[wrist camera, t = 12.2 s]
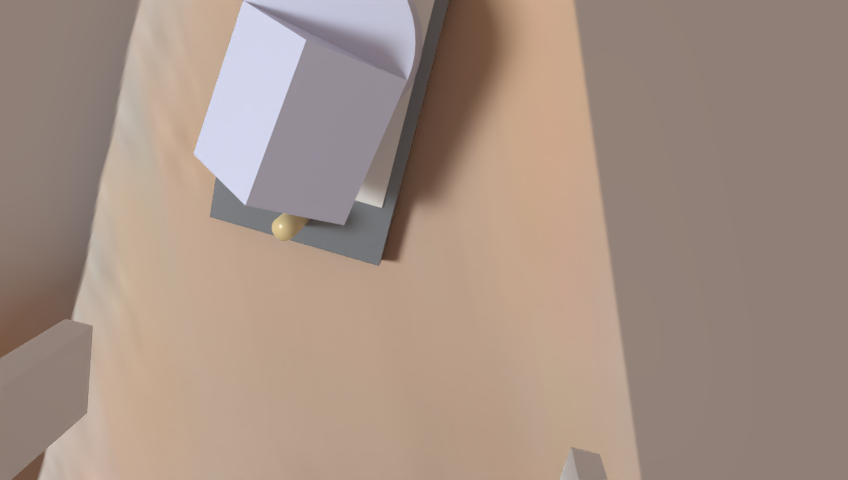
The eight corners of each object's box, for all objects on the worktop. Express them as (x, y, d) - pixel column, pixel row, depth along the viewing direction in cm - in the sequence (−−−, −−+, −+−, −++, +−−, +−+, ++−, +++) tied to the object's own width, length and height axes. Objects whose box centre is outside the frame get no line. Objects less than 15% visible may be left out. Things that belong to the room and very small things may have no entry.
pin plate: (381, 260, 38) (369, 284, 34) (217, 212, 38) (186, 230, 34) (476, -101, 31) (474, -122, 27) (274, -158, 31) (244, -187, 27)
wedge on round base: (356, 209, 36) (449, -3, 31) (328, 244, 29) (440, -15, 25) (220, 144, 35) (295, -79, 31) (160, 166, 29) (246, -111, 25)
